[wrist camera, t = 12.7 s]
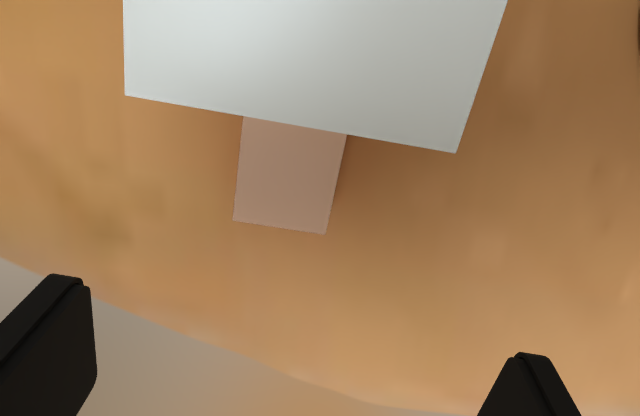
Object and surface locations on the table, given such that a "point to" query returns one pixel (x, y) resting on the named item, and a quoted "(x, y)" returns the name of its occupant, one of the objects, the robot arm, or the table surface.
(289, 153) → the lid
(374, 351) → the table surface
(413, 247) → the table surface
